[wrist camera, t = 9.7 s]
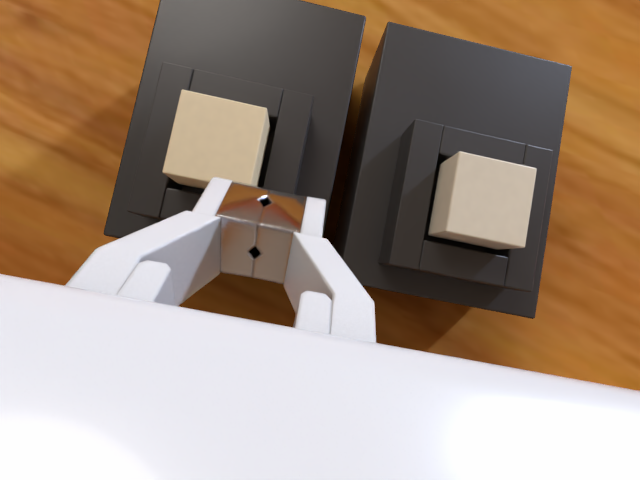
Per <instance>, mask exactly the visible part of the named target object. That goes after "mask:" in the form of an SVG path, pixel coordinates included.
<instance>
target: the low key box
mask: <svg viewBox="0 0 640 480" xmlns="http://www.w3.org/2000/svg"><path fill="white" fill-rule="evenodd" d="M571 69H572V66H569V65H565V64H561V63H557V62H553V61H548V60H544V59H540V58H536V57H532V56H528V55H524V54H520V53H516V52H511V51H507V50H503V49H499V48H495V47H491V46H487V45H483V44H479V43H474V42H470V41H466V40H462V39H458V38H454V37H450V36H446V35H442V34H437V33H433V32H429V31H425V30H421V29H417V28H413V27H409V26H405V25H400V24H396V23H392V22H388V23H387V26H386V28H385V31H384V33H383V36H382V38H381V41H380V43H379V46H378V48H377V51H376V53H375V56H374V58H373V61H372V63H371V66H370V68H369V71H368V73H367V76H366V78H365V83H364V88H363V93H362V98H361V103H360V109H359V114H358V119H357V124H356V129H355V134H354V140H353V145H352V150H351V155H350V160H349V165H348V171H347V176H346V181H345V186H344V191H343V196H342V202H341V207H340V212H339V217H338V222H337V228H336V233H335V238H334V243H333V247H334V249H335V250H336V251H337V253H338V254H339V255H340V257H341V258H342V259H343V261H344V262H345V263H346V265H347V266H348V267H349V269H350V270H351V271H352V273H353V274H354V276H355V277H356V278H357V280H358V281H359V282H360V284H361V285H362V286H368V287H373V288H378V289H383V290H388V291H393V292H398V293H404V294H409V295H414V296H419V297H424V298H429V299H434V300H440V301H445V302H450V303H455V304H460V305H465V306H470V307H475V308H481V309H486V310H491V311H496V312H501V313H506V314H511V315H517V316H522V317H527V318H532V319H533V318H535V313H536V306H537V299H538V292H539V286H540V279H541V272H542V265H543V259H544V252H545V245H546V238H547V231H548V225H549V218H550V211H551V204H552V198H553V191H554V184H555V177H556V171H557V164H558V157H559V150H560V144H561V137H562V130H563V123H564V117H565V110H566V103H567V96H568V90H569V83H570V76H571ZM460 151H461V152H465V153H470V154H474V155H479V156H483V157H488V158H492V159H497V160H501V161H506V162H510V163H515V164H519V165H524V166H528V167H533V168H536V169H537V171H536V178H535V184H534V191H533V198H532V204H531V211H530V217H529V224H528V230H527V237H526V244H525V247H524V248H515V249H499V250H497V249H492V248H487V247H482V246H477V245H473V244H468V243H463V242H458V241H453V240H448V239H443V238H439V237H434V236H429V235H428V232H429V226H430V221H431V215H432V209H433V203H434V198H435V192H436V186H437V180H438V174H439V169H440V164H441V163H443V162H444V161H446V160H447V159H449V158H450V157H452V156H453V155H455V154H456V153H458V152H460Z"/></svg>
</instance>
